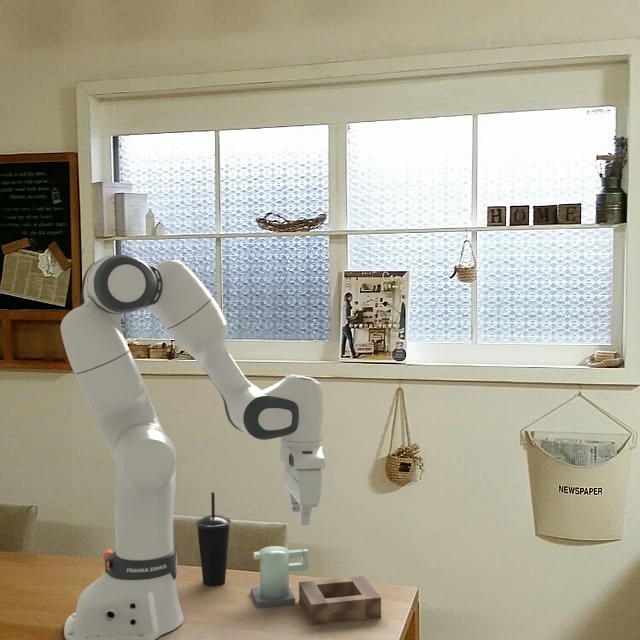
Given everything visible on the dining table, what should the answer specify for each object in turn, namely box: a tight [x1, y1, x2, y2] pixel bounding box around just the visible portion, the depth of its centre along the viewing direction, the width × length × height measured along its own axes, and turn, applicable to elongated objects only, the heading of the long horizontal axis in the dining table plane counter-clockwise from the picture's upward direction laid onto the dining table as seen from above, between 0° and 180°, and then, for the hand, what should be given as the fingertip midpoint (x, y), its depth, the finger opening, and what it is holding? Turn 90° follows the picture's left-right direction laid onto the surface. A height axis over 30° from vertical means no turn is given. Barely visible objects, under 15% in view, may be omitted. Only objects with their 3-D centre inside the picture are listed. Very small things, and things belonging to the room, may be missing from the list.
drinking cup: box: [195, 492, 232, 587], centre depth 182 cm, size 8×8×20 cm
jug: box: [253, 545, 309, 599], centre depth 173 cm, size 11×6×9 cm, turn 102°
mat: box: [250, 586, 296, 608], centre depth 173 cm, size 8×8×1 cm
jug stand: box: [298, 575, 382, 626], centre depth 167 cm, size 14×12×4 cm
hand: (299, 517), depth 173 cm, fingers open, 8 cm apart
